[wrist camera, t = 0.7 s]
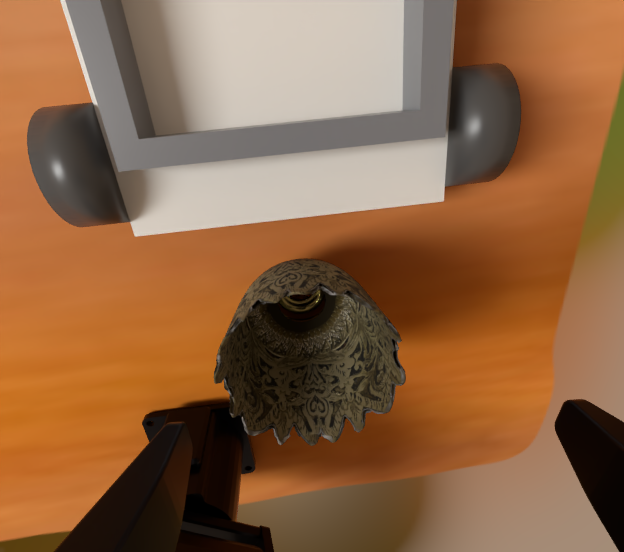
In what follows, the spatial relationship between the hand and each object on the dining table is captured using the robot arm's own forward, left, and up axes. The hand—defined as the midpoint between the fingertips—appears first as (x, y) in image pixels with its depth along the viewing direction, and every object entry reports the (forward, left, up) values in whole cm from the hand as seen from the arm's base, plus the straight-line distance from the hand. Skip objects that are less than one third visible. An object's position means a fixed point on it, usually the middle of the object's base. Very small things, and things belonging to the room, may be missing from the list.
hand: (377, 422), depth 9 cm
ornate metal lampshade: (-3, +1, -13) cm, 13 cm away
